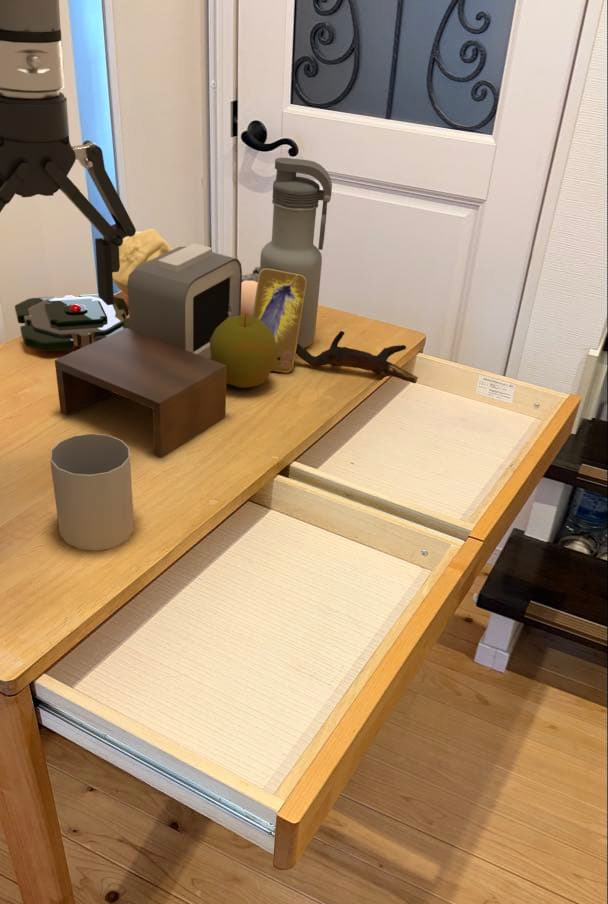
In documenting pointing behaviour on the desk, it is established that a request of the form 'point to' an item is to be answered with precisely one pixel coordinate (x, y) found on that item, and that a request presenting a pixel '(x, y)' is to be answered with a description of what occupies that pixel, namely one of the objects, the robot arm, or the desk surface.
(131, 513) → the cup
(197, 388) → the shelf
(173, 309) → the alarm clock
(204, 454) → the desk surface
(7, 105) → the robot arm
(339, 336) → the toy
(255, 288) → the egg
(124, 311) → the four-lobed dark green device
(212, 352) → the apple
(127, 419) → the desk surface
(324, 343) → the desk surface
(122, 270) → the tan curved lump
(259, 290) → the smartphone
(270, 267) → the water bottle
